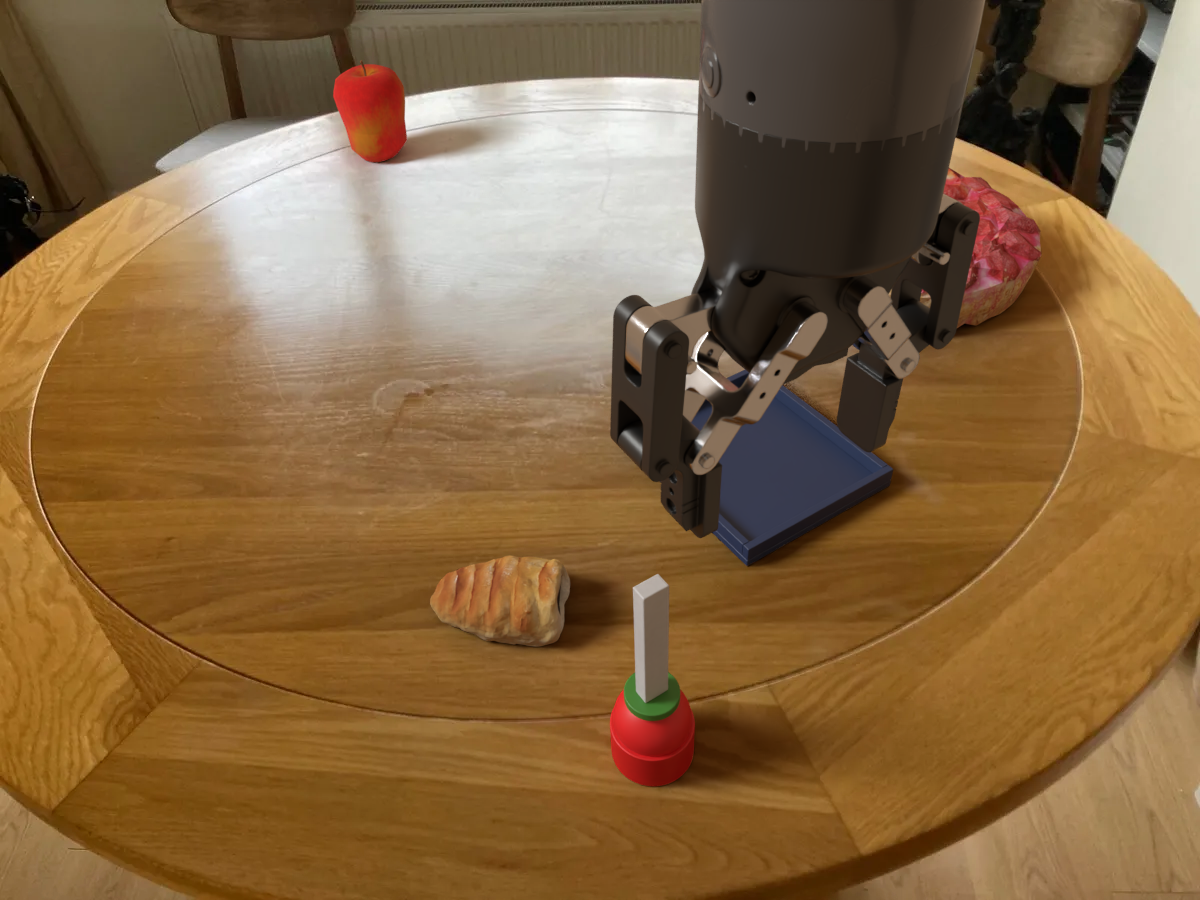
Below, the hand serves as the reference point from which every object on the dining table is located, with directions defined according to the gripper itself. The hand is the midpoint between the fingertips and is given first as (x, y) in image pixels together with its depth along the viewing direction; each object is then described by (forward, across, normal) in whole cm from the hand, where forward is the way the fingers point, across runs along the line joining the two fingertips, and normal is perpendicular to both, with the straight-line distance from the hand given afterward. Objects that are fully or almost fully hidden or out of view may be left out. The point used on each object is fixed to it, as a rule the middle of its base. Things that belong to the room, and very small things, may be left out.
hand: (780, 478), depth 38 cm
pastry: (+26, -5, +19) cm, 33 cm away
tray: (+26, +18, +22) cm, 38 cm away
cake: (+26, +48, +36) cm, 65 cm away
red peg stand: (+26, -3, +5) cm, 26 cm away
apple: (+26, +15, +93) cm, 98 cm away
